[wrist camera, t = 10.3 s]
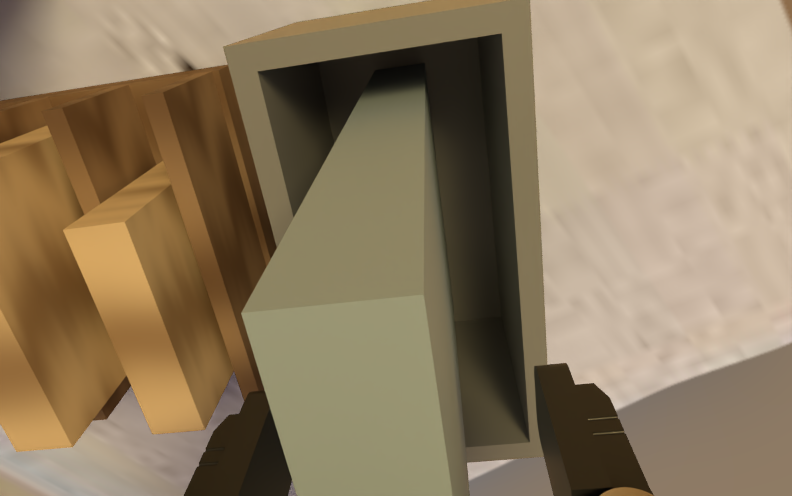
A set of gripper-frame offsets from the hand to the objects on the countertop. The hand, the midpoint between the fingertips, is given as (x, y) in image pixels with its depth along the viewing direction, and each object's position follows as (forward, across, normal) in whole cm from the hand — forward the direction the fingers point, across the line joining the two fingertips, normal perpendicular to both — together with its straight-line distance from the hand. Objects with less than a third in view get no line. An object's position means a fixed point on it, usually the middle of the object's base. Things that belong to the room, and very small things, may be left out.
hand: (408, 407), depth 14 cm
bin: (+16, 0, 0) cm, 16 cm away
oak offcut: (+14, +14, -1) cm, 20 cm away
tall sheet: (+15, 0, 0) cm, 15 cm away
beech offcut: (+14, +10, +1) cm, 17 cm away
